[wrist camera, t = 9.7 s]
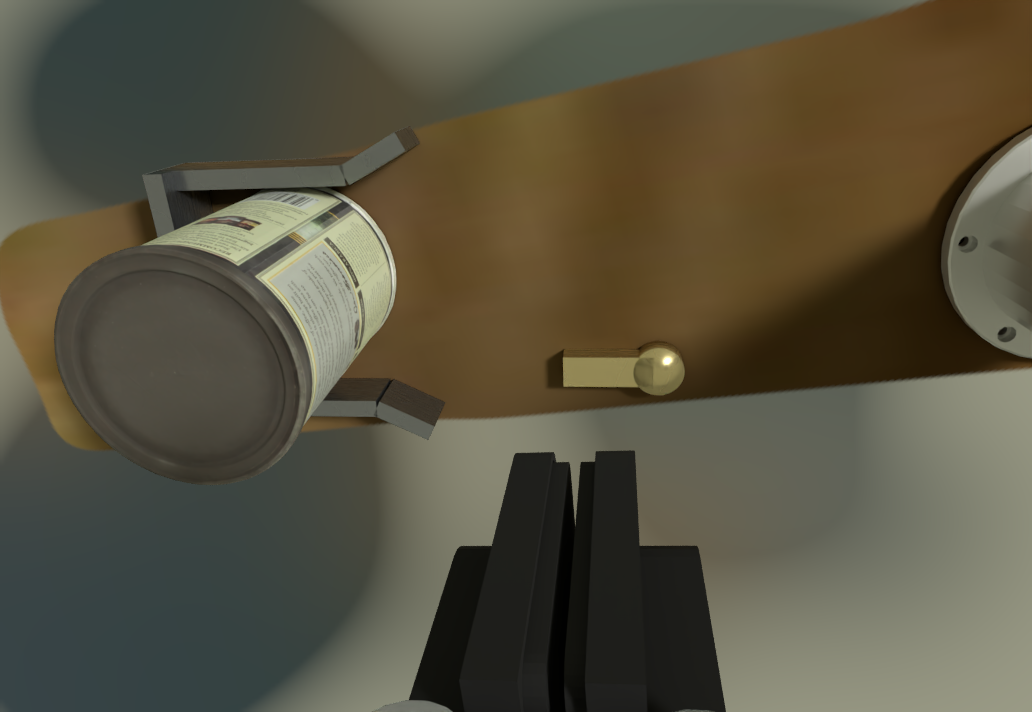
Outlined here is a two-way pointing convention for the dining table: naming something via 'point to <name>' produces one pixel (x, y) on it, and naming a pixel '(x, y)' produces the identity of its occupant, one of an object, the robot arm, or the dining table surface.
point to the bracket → (187, 198)
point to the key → (625, 368)
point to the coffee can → (224, 332)
